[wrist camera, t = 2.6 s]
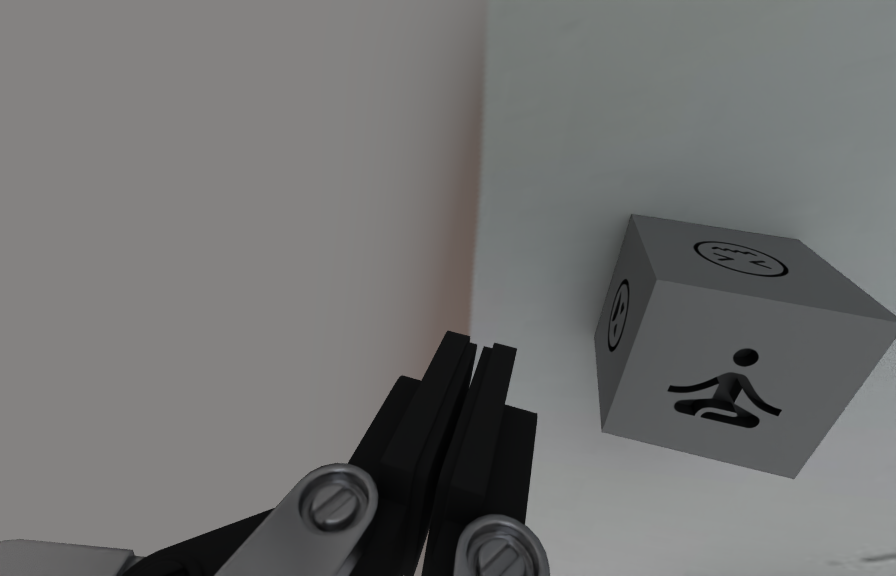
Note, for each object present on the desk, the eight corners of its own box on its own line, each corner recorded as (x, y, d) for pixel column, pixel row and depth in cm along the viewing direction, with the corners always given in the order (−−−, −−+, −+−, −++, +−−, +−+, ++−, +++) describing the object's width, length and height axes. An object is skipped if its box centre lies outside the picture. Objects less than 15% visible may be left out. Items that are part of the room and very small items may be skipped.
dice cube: (594, 336, 17) (601, 431, 12) (631, 214, 14) (656, 279, 10) (733, 365, 16) (793, 479, 11) (798, 240, 13) (905, 323, 9)
